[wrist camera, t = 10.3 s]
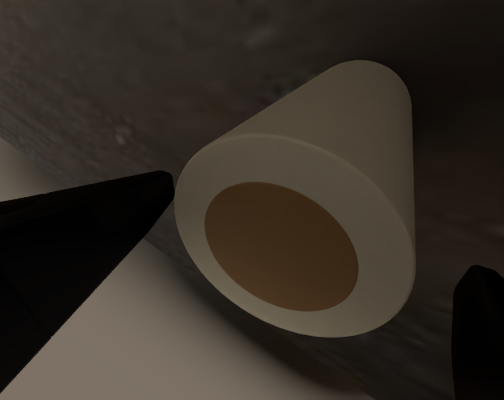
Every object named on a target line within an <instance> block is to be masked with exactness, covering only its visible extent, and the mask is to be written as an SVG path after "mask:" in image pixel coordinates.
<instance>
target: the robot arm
mask: <svg viewBox="0 0 504 400" xmlns="http://www.w3.org/2000/svg"><path fill="white" fill-rule="evenodd" d="M174 196H175V190H174V184H173V178H172V175H171V174H170V173H168V172H165V171H161V170H158V171H153V172H148V173H143V174H138V175H133V176H129V177H124V178H119V179H114V180H109V181H104V182H99V183H94V184H89V185H84V186H79V187H74V188H69V189H64V190H59V191H54V192H49V193H46V194H39V195H34V196H29V197H24V198H19V199H13V200H8V201H2V202H0V393H1V392H2V391H3V390H4V389H5V388H6V387H7V386H8V385H9V383H10V382H11V381H12V380H13V379H14V378H15V377H16V376H17V375H18V374H19V373H20V371H21V370H22V369H23V368H24V367H25V366H26V365H27V364H28V363H29V362H30V361H31V359H32V358H33V357H34V356H35V355H36V354H37V353H38V352H39V351H40V350H41V349H42V347H43V346H44V345H45V344H46V343H47V342H48V341H49V340H50V339H51V336H53V335H54V334H55V333H56V332H57V331H58V330H59V329H60V327H61V326H62V325H63V324H64V323H65V322H66V321H67V320H68V319H69V318H70V317H71V316H72V314H73V313H74V312H75V311H76V310H77V309H78V308H79V307H80V306H81V305H82V303H83V302H84V301H85V300H86V299H87V298H88V297H89V296H90V295H91V294H92V293H93V292H94V291H95V289H96V288H97V287H98V286H99V285H100V284H101V283H102V282H103V280H104V279H106V277H107V276H108V275H109V274H110V273H111V272H112V271H113V270H114V269H115V268H116V267H117V265H118V264H119V263H120V262H121V261H122V260H123V259H124V258H125V257H126V256H127V255H128V253H129V252H130V251H131V250H132V249H133V248H134V247H135V246H136V245H137V244H138V242H140V240H141V239H142V238H143V237H144V236H145V235H146V234H147V233H148V232H149V230H150V229H151V228H152V227H153V225H154V224H155V223H156V221H157V220H158V219H159V217H160V216H161V215H162V213H163V212H164V211H165V209H166V208H167V207H168V205H169V204H170V203H171V201H172V200H173V198H174ZM451 354H452V368H453V379H454V390H455V400H504V278H503V277H502V276H501V275H500V274H499V273H497V272H496V271H495V270H492V269H489V268H486V267H482V266H479V265H473V266H471V267H470V268H469V269H468V270H467V272H466V273H465V275H464V276H463V277H462V279H461V280H460V281H459V283H458V284H457V286H456V287H455V290H454V296H453V319H452V342H451Z"/></svg>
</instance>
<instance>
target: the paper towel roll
mask: <svg viewBox="0 0 504 400" xmlns="http://www.w3.org/2000/svg"><path fill="white" fill-rule="evenodd" d="M174 209H175V218H176V223H177V227H178V230H179V233H180V236H181V239H182V241H183V243H184V245H185V247H186V249H187V251H188V253H189V255H190V256H191V258H192V260H193V261H194V263H195V264H196V265H197V267H198V268H199V270H200V271H201V272H202V273H203V274H204V276H205V277H206V278H207V279H208V280H209V281H210V282H211V283H212V284H213V285H214V286H215V287H216V288H217V289H218V290H219V291H220V292H221V293H222V294H223V295H225V296H226V297H227V298H228V299H230V300H231V301H232V302H233V303H235V304H236V305H238V306H239V307H241V308H242V309H244V310H245V311H247V312H249V313H250V314H252V315H254V316H256V317H258V318H260V319H261V320H263V321H265V322H268V323H270V324H272V325H275V326H277V327H280V328H283V329H286V330H289V331H293V332H296V333H300V334H305V335H311V336H318V337H346V336H354V335H358V334H362V333H366V332H368V331H371V330H373V329H376V328H378V327H380V326H381V325H383V324H385V323H386V322H388V321H389V320H390V319H391V318H393V317H394V316H395V315H396V314H397V313H398V312H399V311H400V309H401V308H402V307H403V305H404V304H405V303H406V301H407V299H408V297H409V295H410V293H411V291H412V288H413V284H414V279H415V275H416V251H415V213H414V175H413V137H412V104H411V98H410V95H409V92H408V89H407V87H406V86H405V84H404V82H403V81H402V80H401V78H400V77H399V76H398V75H397V74H396V73H395V72H394V71H392V70H391V69H389V68H388V67H386V66H384V65H382V64H379V63H376V62H373V61H367V60H354V61H347V62H343V63H340V64H338V65H335V66H333V67H331V68H330V69H328V70H326V71H325V72H323V73H321V74H320V75H318V76H317V77H315V78H313V79H312V80H310V81H309V82H307V83H305V84H304V85H302V86H301V87H299V88H298V89H296V90H294V91H293V92H291V93H290V94H288V95H286V96H285V97H283V98H282V99H280V100H278V101H277V102H275V103H274V104H272V105H270V106H269V107H267V108H266V109H264V110H262V111H261V112H259V113H258V114H256V115H254V116H253V117H251V118H250V119H248V120H246V121H245V122H243V123H242V124H240V125H239V126H237V127H235V128H234V129H232V130H231V131H229V132H227V133H226V134H224V135H223V136H221V137H219V138H218V139H216V140H215V141H213V142H211V143H210V144H208V145H207V146H205V147H204V148H202V149H201V150H200V151H199V152H197V153H196V154H195V155H194V156H193V157H192V158H191V159H190V161H189V162H188V163H187V164H186V166H185V168H184V169H183V171H182V173H181V175H180V177H179V180H178V183H177V186H176V191H175V199H174Z"/></svg>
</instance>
